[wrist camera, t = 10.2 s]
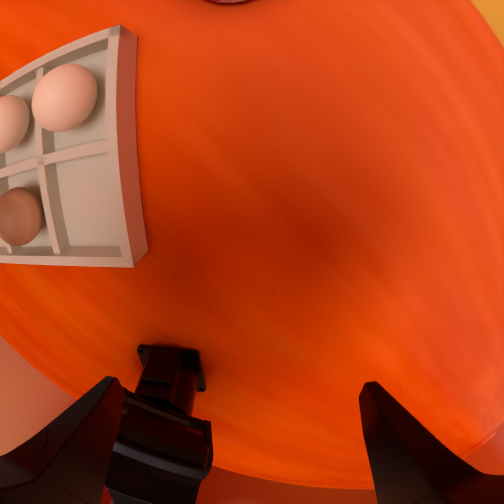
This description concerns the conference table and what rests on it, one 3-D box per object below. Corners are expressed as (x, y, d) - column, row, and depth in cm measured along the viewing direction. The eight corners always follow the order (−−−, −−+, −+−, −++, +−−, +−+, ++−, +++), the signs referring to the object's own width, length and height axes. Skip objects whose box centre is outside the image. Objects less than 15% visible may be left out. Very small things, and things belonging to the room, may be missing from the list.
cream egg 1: (41, 141, 15) (0, 150, 11) (9, 153, 15) (-28, 164, 11) (40, 87, 13) (0, 86, 9) (8, 104, 13) (-29, 108, 9)
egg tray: (148, 249, 20) (134, 267, 18) (-7, 250, 21) (-23, 261, 18) (137, 36, 13) (120, 24, 11) (-25, 112, 14) (-43, 115, 11)
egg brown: (47, 176, 17) (19, 188, 13) (56, 230, 19) (33, 252, 15) (8, 187, 16) (-21, 201, 12) (18, 236, 18) (-7, 258, 14)
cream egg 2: (109, 123, 15) (70, 125, 11) (60, 135, 15) (18, 142, 11) (110, 61, 13) (73, 48, 9) (60, 78, 13) (20, 74, 9)
